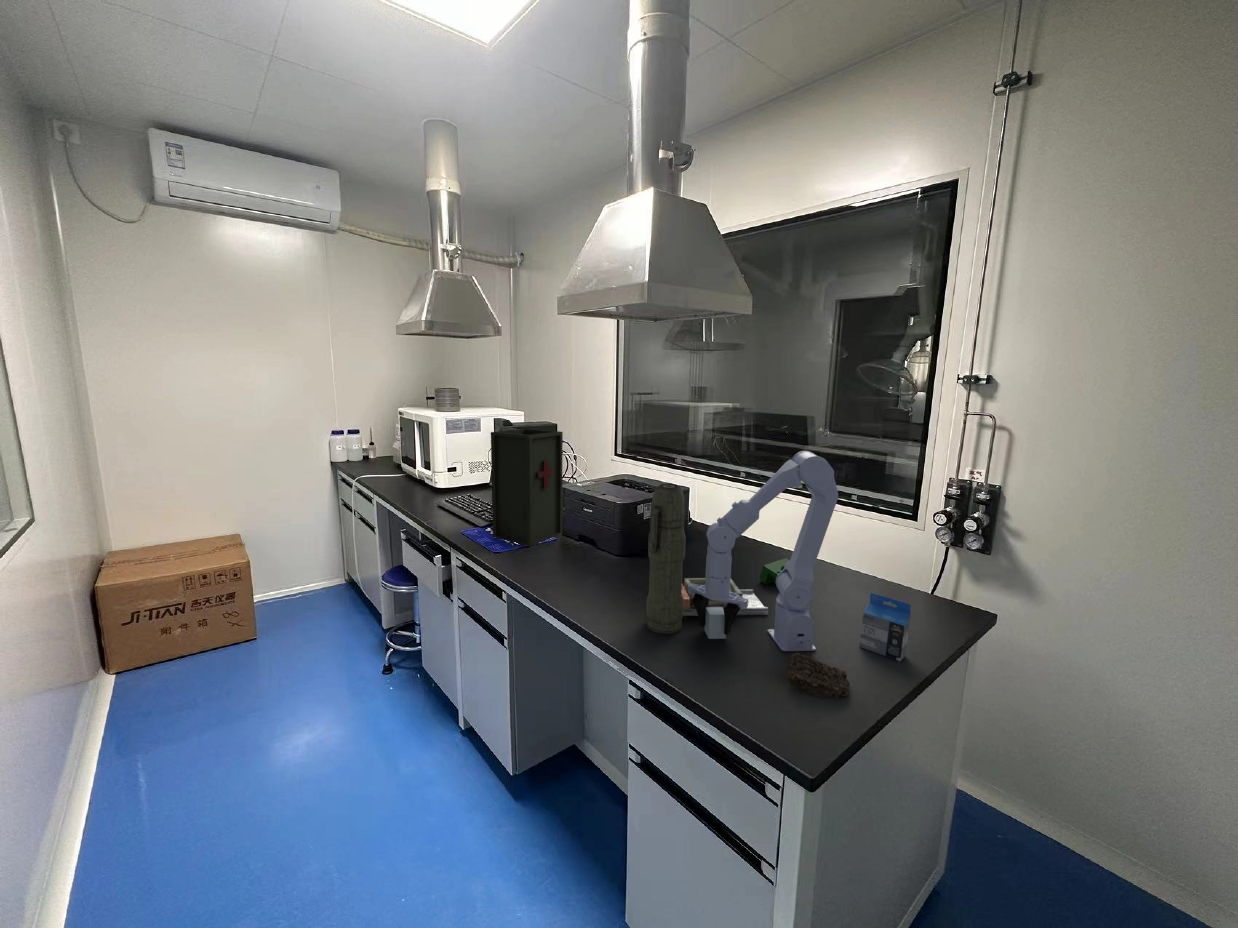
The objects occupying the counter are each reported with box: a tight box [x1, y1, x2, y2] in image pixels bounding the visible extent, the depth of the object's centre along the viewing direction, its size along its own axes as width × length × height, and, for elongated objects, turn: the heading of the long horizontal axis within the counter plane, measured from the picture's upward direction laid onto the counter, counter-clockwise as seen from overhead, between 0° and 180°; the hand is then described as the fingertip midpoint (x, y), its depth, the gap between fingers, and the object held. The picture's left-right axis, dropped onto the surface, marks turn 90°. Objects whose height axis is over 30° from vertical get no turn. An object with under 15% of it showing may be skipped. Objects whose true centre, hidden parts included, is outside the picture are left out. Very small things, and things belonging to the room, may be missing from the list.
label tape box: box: [859, 592, 912, 662], centre depth 114 cm, size 9×4×12 cm, turn 45°
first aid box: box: [490, 428, 564, 548], centre depth 191 cm, size 18×18×40 cm
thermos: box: [645, 483, 687, 635], centre depth 123 cm, size 9×12×35 cm
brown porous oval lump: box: [786, 651, 851, 699], centre depth 101 cm, size 12×10×5 cm
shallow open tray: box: [683, 577, 743, 605], centre depth 137 cm, size 11×13×4 cm
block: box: [704, 607, 727, 640], centre depth 121 cm, size 4×4×6 cm
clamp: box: [759, 557, 790, 585], centre depth 154 cm, size 12×6×9 cm, turn 122°
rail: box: [681, 583, 769, 617], centre depth 137 cm, size 12×22×4 cm, turn 94°
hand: (715, 628), depth 121 cm, fingers closed on block, 6 cm apart
